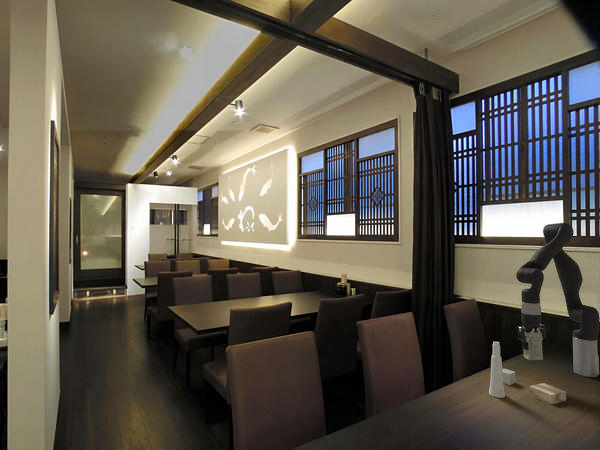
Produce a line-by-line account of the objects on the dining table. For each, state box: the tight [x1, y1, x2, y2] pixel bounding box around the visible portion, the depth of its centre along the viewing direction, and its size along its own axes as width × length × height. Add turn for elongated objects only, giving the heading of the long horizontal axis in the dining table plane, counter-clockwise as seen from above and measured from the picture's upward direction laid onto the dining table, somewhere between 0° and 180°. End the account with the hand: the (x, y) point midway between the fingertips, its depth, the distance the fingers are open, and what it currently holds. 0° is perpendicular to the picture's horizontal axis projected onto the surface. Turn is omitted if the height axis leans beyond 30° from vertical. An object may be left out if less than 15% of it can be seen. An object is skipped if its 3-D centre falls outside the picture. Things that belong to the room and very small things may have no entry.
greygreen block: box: [502, 368, 517, 386], centre depth 161 cm, size 5×5×5 cm
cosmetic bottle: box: [488, 341, 506, 399], centre depth 149 cm, size 6×6×22 cm
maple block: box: [528, 382, 567, 405], centre depth 146 cm, size 9×9×4 cm
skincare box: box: [522, 332, 544, 361], centre depth 159 cm, size 6×4×12 cm
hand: (532, 348), depth 159 cm, fingers closed on skincare box, 7 cm apart
